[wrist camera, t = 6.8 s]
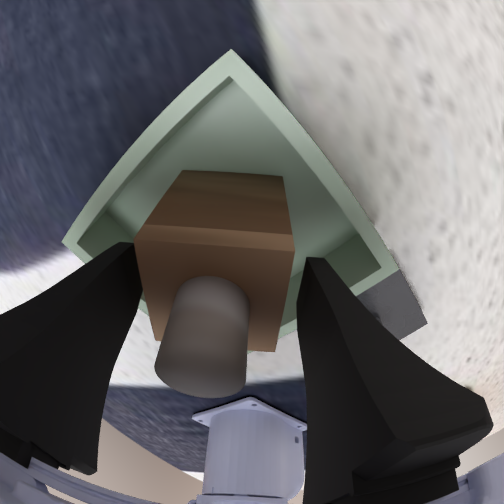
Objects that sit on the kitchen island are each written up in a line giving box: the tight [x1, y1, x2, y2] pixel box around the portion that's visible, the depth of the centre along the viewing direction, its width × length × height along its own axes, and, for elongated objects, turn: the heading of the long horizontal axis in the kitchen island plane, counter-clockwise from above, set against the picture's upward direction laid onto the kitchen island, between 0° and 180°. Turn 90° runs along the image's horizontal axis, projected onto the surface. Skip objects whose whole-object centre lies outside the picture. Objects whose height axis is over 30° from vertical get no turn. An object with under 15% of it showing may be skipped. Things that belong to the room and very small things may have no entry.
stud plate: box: [356, 269, 428, 340], centre depth 15 cm, size 6×6×5 cm
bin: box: [62, 49, 399, 354], centre depth 12 cm, size 10×10×4 cm
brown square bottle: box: [133, 170, 295, 398], centre depth 10 cm, size 4×4×8 cm
